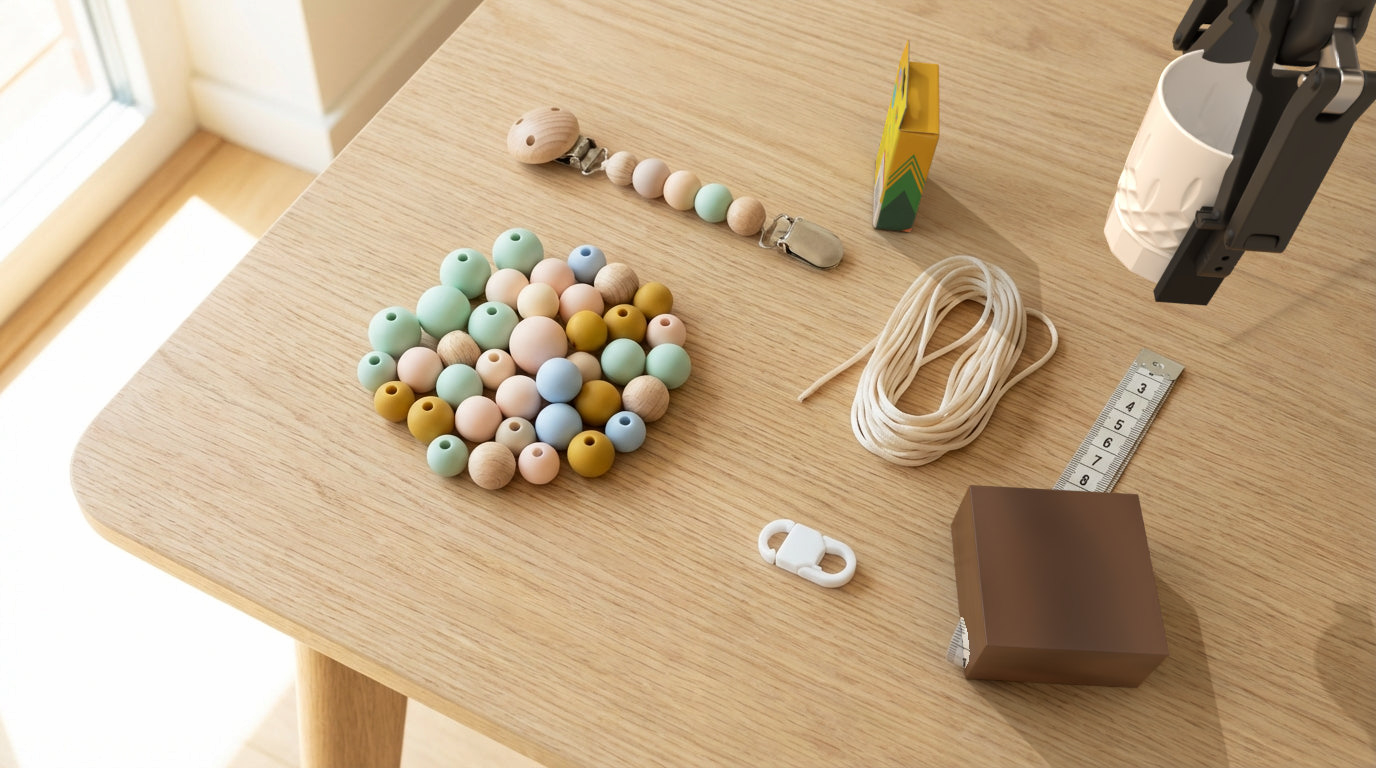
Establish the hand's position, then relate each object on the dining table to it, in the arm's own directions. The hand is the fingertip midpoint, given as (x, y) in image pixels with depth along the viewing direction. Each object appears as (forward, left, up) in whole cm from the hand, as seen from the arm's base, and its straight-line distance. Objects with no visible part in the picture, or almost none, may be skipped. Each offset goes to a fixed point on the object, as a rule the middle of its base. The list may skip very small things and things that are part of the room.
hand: (1166, 238), depth 66 cm
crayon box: (+11, -19, -18) cm, 28 cm away
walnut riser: (+4, +14, -18) cm, 23 cm away
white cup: (0, 0, 0) cm, 0 cm away
